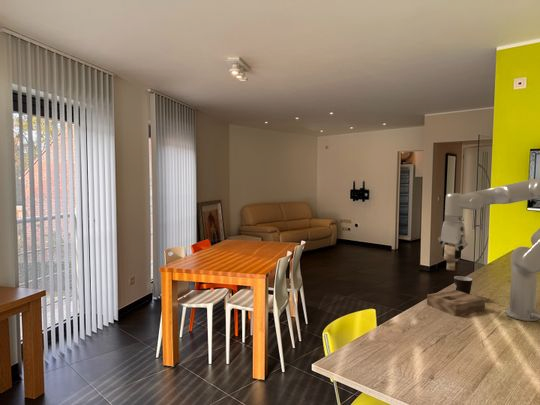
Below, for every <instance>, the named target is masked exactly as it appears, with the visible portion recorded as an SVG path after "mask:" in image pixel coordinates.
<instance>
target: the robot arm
mask: <svg viewBox="0 0 540 405" xmlns="http://www.w3.org/2000/svg"><path fill="white" fill-rule="evenodd" d="M534 199H540V178H533V179H528V180H523V181H519V182H514V183H509V184H504V185H500V186H496V187H495V186H494V187H492V188H486V189H481V190H477V191H476V190H475V191H470V192H468V193H467V192H466V193H463V194H462V193H457V192H456V193H455V192H454V193H453V192H449V193H447V194H446V195H445V202H444V203H445V204H444V205H445V206H444V208H445V209H444V220H443V222H442V227H441V234H440V236H438V238H437V240H438V242H439V244H440V245H441V248H442V254H441V255H442V257H444V250H445V245H455V246H456V250H455V259H459V260H460V259H461V258H462V251H463V250H464V249H465V247H467V246H468V242H467V239H466V228H465V227H466V226H465V223H464V221H465V218H463V217H464V216H463V214H464V210H465V209H466V210H469V211H470V210H471V211H476V210H479V209H481V208H482V207H484V206H490V205H506V204H507V205H508V204H509V205H510V204H515V203H519V202H525V201H530V200H534ZM530 242H531V245H532V246H531V247H528V246H518V247H515V248H514V250H513V251H512V253H511V255H510V268H511V271H510V272H511V273H510V274H511V275H510V278H511V279H510V289H509V290H510V292H509V294H510V295H509V308H508V309H505V311H504V314H505V315H506V316H507V317H510V318H512V319H516V320H519V321H523V322H524V321H525V322H536V321H538V320H540V313H539V312H538V308H536V300H537V299H536V298H537V283H538V273H540V227H539V228H538V229H537V230H536V231H535V232H534V233H533V234H532V235H531V237H530Z"/></svg>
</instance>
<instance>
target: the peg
mask: <svg viewBox="0 0 540 405" xmlns="http://www.w3.org/2000/svg"><path fill="white" fill-rule="evenodd" d="M455 250H456V246H455V244H448V245H445V250H444V256H443V261H446V270H447V271H456V263H457V262H459V261H460V259H455Z"/></svg>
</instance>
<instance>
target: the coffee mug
mask: <svg viewBox="0 0 540 405" xmlns="http://www.w3.org/2000/svg"><path fill="white" fill-rule="evenodd" d="M453 282H454V283H453V284H454V290H458V291H461V292H464V293H467V294H470V295H471V292H472V286H473V278H471V277H467V276H462V275H460V276H459V275H456V276H454V277H453Z"/></svg>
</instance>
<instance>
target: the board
mask: <svg viewBox="0 0 540 405" xmlns="http://www.w3.org/2000/svg"><path fill="white" fill-rule="evenodd" d="M426 305H427V306H429V307H432V308H434V309H437V310H440V311H442V312H444V313H447V314H450V315H452V316H455V317H457V316H461V315H466V314H470V313H476V312H480V311H481V312H482V311H485V310H486V299H484V298H482V297H480V296H479V297H478V296H476V295H472V294H471V293H470V294H467V293H464V292H461V291H458V290H455V289H453V290H448V291H447V290H446V291H442V292H435V293H429V294H426Z"/></svg>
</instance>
